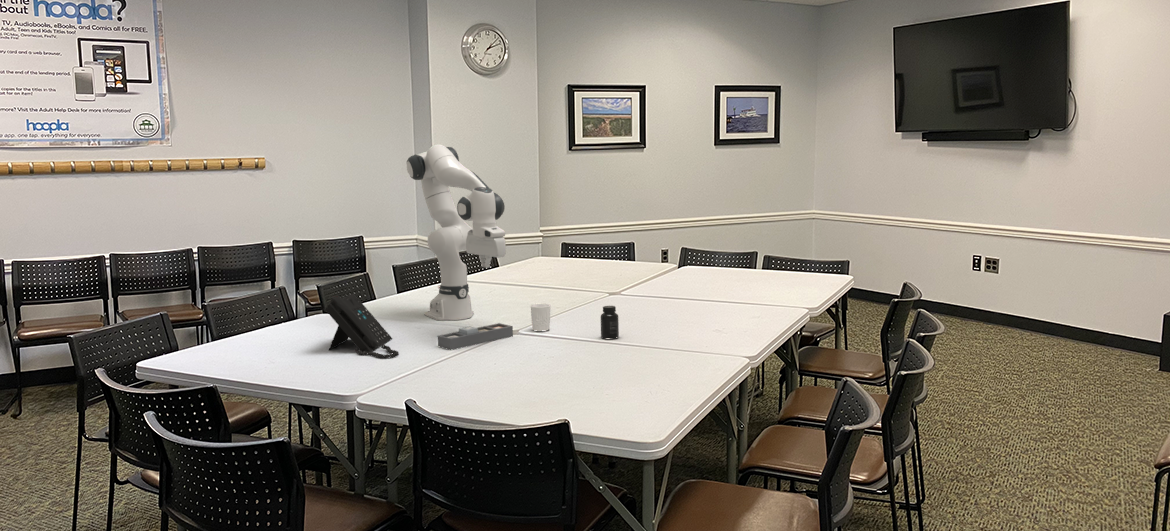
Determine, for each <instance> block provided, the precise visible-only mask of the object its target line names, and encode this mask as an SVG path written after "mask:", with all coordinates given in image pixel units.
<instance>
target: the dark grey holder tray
mask: <svg viewBox="0 0 1170 531" xmlns="http://www.w3.org/2000/svg"><path fill="white" fill-rule="evenodd" d="M498 326H499V327H503V328H498V329H496V328H493V327H498ZM477 328H478V333H474V334H469V335H465V334H461V333H459V330H458V331H455V332H454V331H453V332H449V333H445V334H440V335H437V346H440V347H439V348H442V347H443V348H442V349H446V348H447V349H446V350H449V349H450V350H449V351H452V350H451V349H453V350H457V348H458V349H461V347H462V348H465V347H466V346H467V347H471V346H475V344H476V345H480V344H484V343H488V342H493V341H498V340H503V339H506V338H507V339H508V338H511V336H512V337H513V336H514V332H513V331H514V330H513V329H514V328H513V325H510V324H505V323H500V322H497V323H494V324H488V325H484V326H479V327H477ZM484 329H485V330H488V331H483V332H481V331H479V330H484ZM450 336H459V337H455V338H448V337H450Z"/></svg>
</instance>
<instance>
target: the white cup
mask: <svg viewBox="0 0 1170 531" xmlns="http://www.w3.org/2000/svg"><path fill="white" fill-rule="evenodd" d="M551 308H552V307H551V304H549V303H533V304H531V305H530V316H531V318H530V319H531V325H532V331H533V330H537V331H542V330H548V329H549V328H550V326H551ZM550 329H551V328H550ZM550 329H549V330H550Z"/></svg>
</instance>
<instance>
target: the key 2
mask: <svg viewBox="0 0 1170 531" xmlns="http://www.w3.org/2000/svg"><path fill="white" fill-rule="evenodd" d="M458 331H459V333H461V334H465V335H469V334H474V333H478V327H474V326H470V325H469V326H465V327H460V328H458Z"/></svg>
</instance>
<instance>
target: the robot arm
mask: <svg viewBox="0 0 1170 531" xmlns="http://www.w3.org/2000/svg"><path fill="white" fill-rule="evenodd" d="M406 171H407V173H408V175H409V177H410V178H411V179H413V180H414V181H421V188H422V194H423V198H424V200H425V203H426V205H427V209H428V211H429V214H430V217H431V218H432V220H434V221H436V222H437V223H438V224H439V225H440V227H439V228H437V229H434V230H433V231H431V232H430V233H429V235H428V237H427V241H426V242H427V246H428V248H429V250H430V251H431V252H432V253H433V254H434V255H435V257H436V259H437V261H438V264H439V269H440V272H439V273H440V285H439V286H438V293H437V295H435V296H434V298H432V300H430V302H429V311H426V312H424V316H426V317H428V318H431V319H433V320H436V321H457V320H458V321H459V320H466V319H469V318H472V317H473V315H474V314H475V312H474V311H473V310H472V301H471V296H470V295H469V292H470V291H469V289H470V286H469V283H468V266H467V264H466V263H465V262H463V261H462V259H461V256H460V252H462V251H466V254H469V255H470V254H471V255H478V258H479V261H480V263H481V268H488V269H489V268H490V267H491V261H492V259H493V258H503V257H505V255H506V252H507V250H506V249H507V248H506V247H507V246H506V239H505V236H506V231H505V230H504V229H502V228H501V227H499V226H498V225H497V220H499V219H500V218H501V217H502V215H504V213H505V202H504V200H503V198H502V197H501V196H500V195H499V193H496V192H495V191H494V190H493V189H492V188H490V187H489V186H488V185H487V184H486V183H485V182H484V181H483V180H482V179H481V178H480V177H479V175H478V174H476V173H475V172H473V171H472V170H470V169H468V168H467V167H466V166H464V165H463V164H462V163H461V162H460V158H459V154H458V152H457V150H456V149H455V148H453V147H452V146H445V145H444V144H441V143H439V144H434V145H432V146H431V147H429V148H428V149H427V151H424V152H420V153H417V154H412V155H411V156H409V157H408V159H407V160H406ZM450 188H460V189H464V190H468V191H470V193H469V194H467V195H465V196H462V197H460V199H459V200H458V202H457V205H456V203H455V201H454V199H453V195H452V192H451V190H450ZM466 221H467V222H469V221H472V225H471V226H470V225H469V224H468V223H467V222H466ZM492 257H493V258H492Z"/></svg>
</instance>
